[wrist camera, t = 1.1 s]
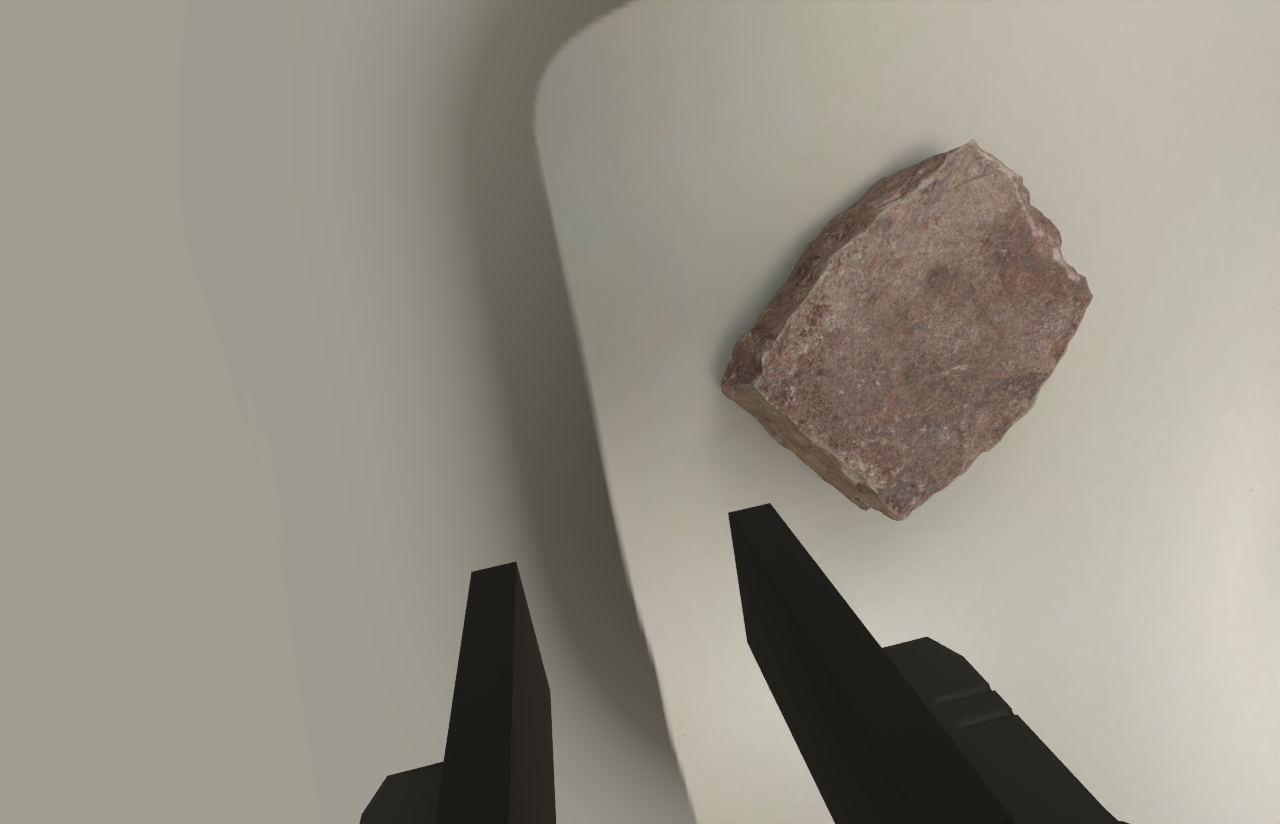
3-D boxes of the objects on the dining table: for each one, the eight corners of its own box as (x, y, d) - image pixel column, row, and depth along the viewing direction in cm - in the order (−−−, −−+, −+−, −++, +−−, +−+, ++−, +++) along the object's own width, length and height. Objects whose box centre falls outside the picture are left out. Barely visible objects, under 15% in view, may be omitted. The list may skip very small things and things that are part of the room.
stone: (915, 112, 25) (1002, 96, 21) (1052, 282, 28) (1154, 301, 23) (689, 361, 26) (725, 397, 22) (842, 498, 29) (900, 554, 25)
